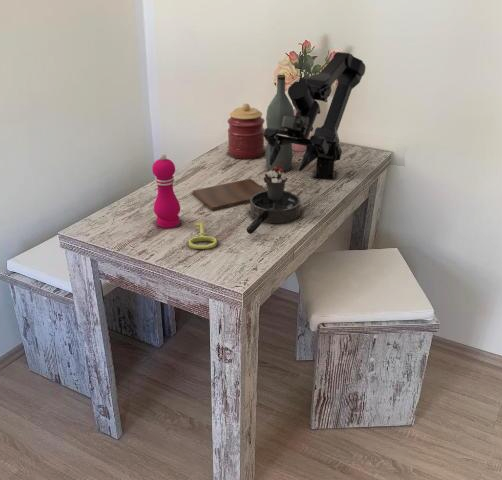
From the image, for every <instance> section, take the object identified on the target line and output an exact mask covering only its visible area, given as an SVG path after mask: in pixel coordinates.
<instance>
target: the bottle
mask: <svg viewBox="0 0 502 480" xmlns="http://www.w3.org/2000/svg"><path fill="white" fill-rule="evenodd" d="M276 77H277V79H276V80H277V81H276V94H275V95H274V97H273V98H272V100H271V101H270V103H269V105H268V106H267V110H266V114H265V115H266V117H265V121H266V128H268V127H269V128H275V129H279V131H280V133H281V134H283V135H287V134H288V133H286V132H285V128H281V124H282V120H283V116H289V117H292V116H295V110H294V105H293V103H292V102H291V100H290V98H288V97H289V96H287V94H286V77H287V76H286V75H285V74H277V76H276ZM280 147H281V149H280V151H279V153H278V155H277V157H276V159H275V161H274V163H273V165H270V144H269V143H268V142H267V141H266V147H265V148H266V149H265V164H266V167H267V169H268V170H270V171H271V170H272V169H274V167H277V166H278V169H279V168H282V169H283V171H282V172H286V171H289V170H290V169H291V167H292V164H293V157H294V154H293V153H294V152H293V143H288V142H282V144H281V145H280ZM280 161H283V162H282V163H281V162H280Z"/></svg>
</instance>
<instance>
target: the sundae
mask: <svg viewBox="0 0 502 480" xmlns="http://www.w3.org/2000/svg"><path fill="white" fill-rule="evenodd" d="M280 162H281V163H282V162H283V161H280ZM288 180H289V179H288V178H287V176H286V174H285V173H284V171H283V169H282V168H279V169H278V166H277V167H274V169H272V170H270V171H269V172H268V173H265V174H264V177H263V182H264V184H265V183H266V190H267V191H268V197H269V198H270V199H271V200H272V201H273V208H270V209H268V210H282V209H279V208H278V207H277V201H278V200H280V199H281V198H282V196H283V191H285V185H286V182H287V181H288Z"/></svg>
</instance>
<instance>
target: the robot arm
mask: <svg viewBox="0 0 502 480" xmlns="http://www.w3.org/2000/svg"><path fill="white" fill-rule="evenodd" d="M365 73H366V64H365V62H364V61H363V60H362V59H360V58H358V57H356V56H354V55H353V54H351V53H350V52H343V51H337V52H335V53H333V57H332V58H331V59H330V61H329V62H328V63H327V64H326V65H325V66H324V67H323V68H322V70H321V71H320V72H319V73H316V74H312V75H310V76H309V77H307V78H304V77H299V79H298V80H297V81H295V82H293V83H292V84H291V85H290V86H288V89H287V95H288V97H289V100H290V102H291V104H292V105H293V107H294V108H295V109H297V111H296V112H295V114H294V116H292V117H289V116H283V120H282V124H281V128H285V132H286V133H288V134H287V135H283V134H281V133H280V131H279V129H275V128H269V127H268V128H267V127H266V128H264V133H263V136H264V140H266V143H267V142H268V143H269V144H270V165H273V163H274V161H275V159H276V157H277V155H278V153H279V151H280V149H281V147H280V145H281V144H282V142H288V143H292V145H299V146H304V147H306V149H305V152H304V155H303V157H302V159H301V161H300V164H299V167H298V172H302V171H303V170H304V169H305V168H306V167H307V166H309V165H310V164H311V163H312V162H313V161H315V160H316V166H315V171H314V174H313V178H315V179H324V180H325V179H326V180H334V179H335V177H336V176H335V175H336V170H335V162H336V161H341V156H342V152H343V150H342V147H341V146H340V144H339V143H340V137H339V134H338V133H339V132H338V130H339V127H340V125H341V121H342V119H343V115H344V113H345V110H346V107H347V104H348V101H349V98H350V96H351V93H352V90H353V89H354V88H355V87H356V86H358V85H359V84H360V83H361V80H362V78H363V76H365ZM336 81H337V85H336V87H335V90H334V94H333V97H332V99H331V101H330V105H329V108H328V111H327V114H326V116H325V119H324V122H323V124H322V125H321V126H319V127H318V126H317V127H316V128H315V129H314V124H315V121H316V118H317V116H318V115H320V114H321V107H320V104H319V102H318V101H322V102H325V101H326V100H328V98H329V97H330V96H331V94H332V86H333V84H334V83H335V82H336ZM311 132H314V133H313V135H311V136H310V134H311ZM309 136H310V138H309Z"/></svg>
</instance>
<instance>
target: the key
mask: <svg viewBox="0 0 502 480" xmlns="http://www.w3.org/2000/svg"><path fill="white" fill-rule="evenodd" d="M193 226H194V227H199V234H198V236H194V237H191V238H190V239H188V247H189V248H191V249H193V250H208V249H213V248H215V247H216V246H217V244H218V240H217V238H215V237H214V236H211V235H207V234H206V233H205V222H204V221H203V220H201V221H199V222H194V224H193ZM198 242H210V243H209V244H203V245H202V244H201V245H200V244H195V243H198Z"/></svg>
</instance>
